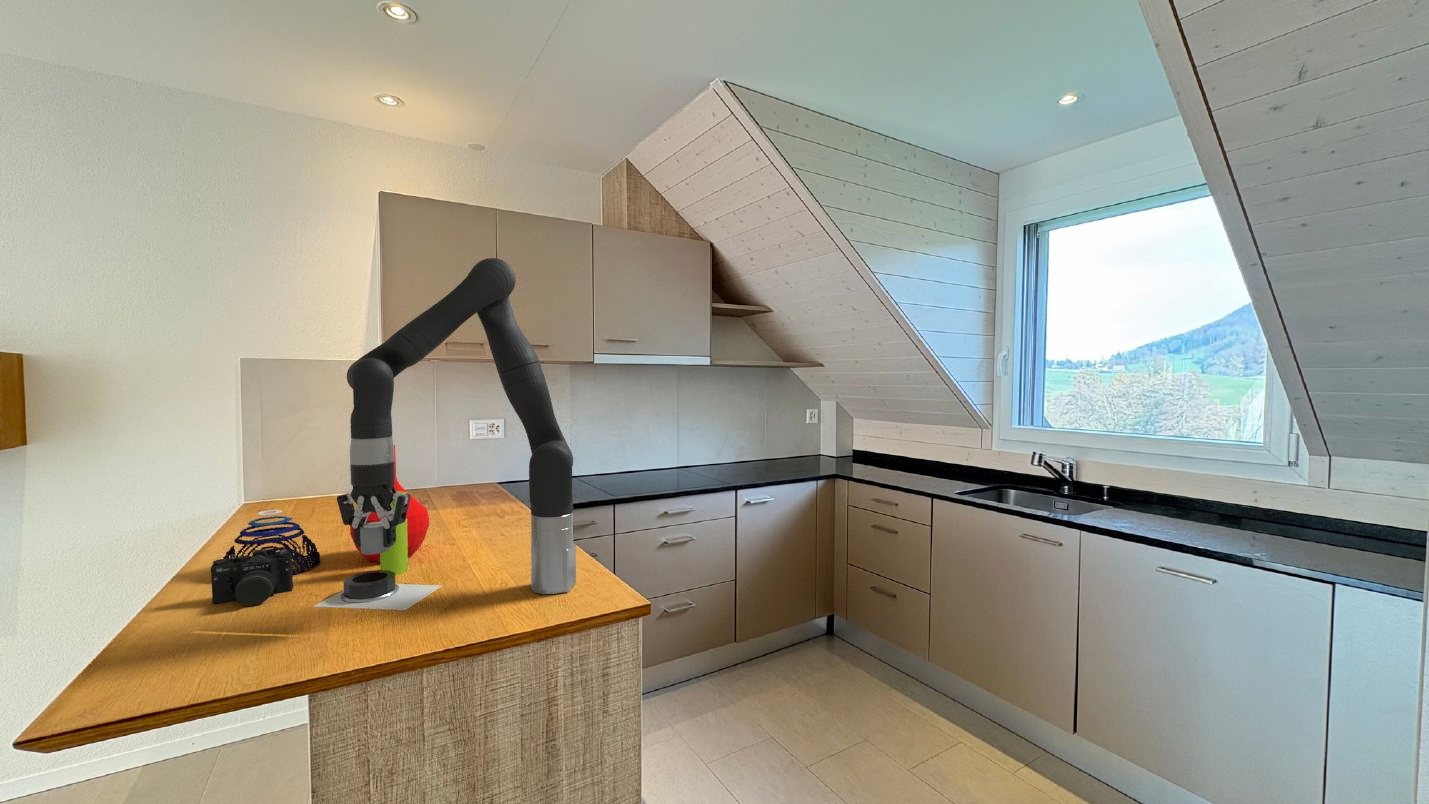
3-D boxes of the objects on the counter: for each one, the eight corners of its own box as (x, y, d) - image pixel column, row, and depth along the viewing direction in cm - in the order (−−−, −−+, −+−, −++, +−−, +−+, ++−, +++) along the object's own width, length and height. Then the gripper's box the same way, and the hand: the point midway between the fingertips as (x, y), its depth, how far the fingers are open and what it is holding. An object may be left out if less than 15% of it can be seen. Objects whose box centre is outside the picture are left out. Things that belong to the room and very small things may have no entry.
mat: (442, 587, 134) (442, 585, 134) (405, 611, 120) (405, 609, 120) (358, 584, 135) (358, 582, 135) (312, 608, 121) (312, 606, 121)
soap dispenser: (399, 578, 139) (398, 495, 138) (374, 576, 140) (373, 493, 140) (417, 570, 145) (415, 490, 144) (392, 568, 146) (391, 489, 145)
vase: (356, 573, 142) (353, 451, 141) (345, 555, 157) (343, 444, 155) (437, 559, 154) (435, 446, 152) (420, 543, 168) (419, 440, 167)
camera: (201, 616, 117) (199, 567, 116) (215, 598, 126) (214, 552, 126) (286, 604, 123) (285, 557, 123) (294, 588, 133) (293, 544, 132)
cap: (395, 547, 118) (394, 521, 118) (379, 554, 113) (378, 527, 113) (371, 546, 118) (370, 520, 118) (354, 554, 113) (354, 527, 113)
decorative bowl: (218, 590, 131) (216, 526, 130) (217, 568, 146) (215, 510, 146) (324, 571, 144) (323, 513, 143) (313, 552, 159) (312, 500, 159)
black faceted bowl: (409, 585, 134) (409, 570, 133) (378, 603, 123) (378, 587, 122) (363, 583, 134) (362, 568, 134) (328, 602, 123) (327, 585, 123)
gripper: (418, 457, 118) (421, 541, 119) (350, 457, 119) (353, 540, 120) (396, 463, 111) (399, 552, 111) (323, 463, 111) (326, 551, 112)
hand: (375, 545), depth 116 cm, fingers closed on cap, 5 cm apart
